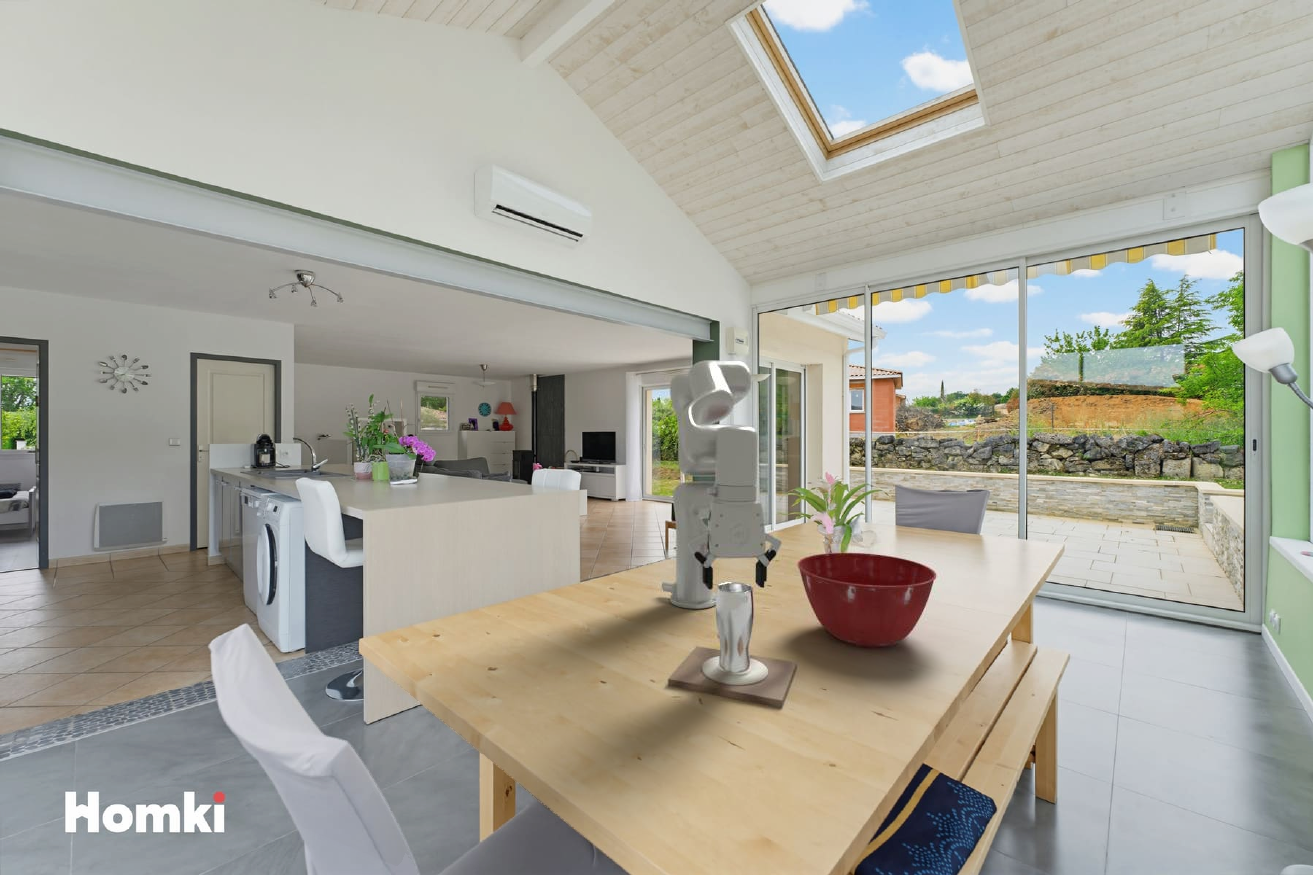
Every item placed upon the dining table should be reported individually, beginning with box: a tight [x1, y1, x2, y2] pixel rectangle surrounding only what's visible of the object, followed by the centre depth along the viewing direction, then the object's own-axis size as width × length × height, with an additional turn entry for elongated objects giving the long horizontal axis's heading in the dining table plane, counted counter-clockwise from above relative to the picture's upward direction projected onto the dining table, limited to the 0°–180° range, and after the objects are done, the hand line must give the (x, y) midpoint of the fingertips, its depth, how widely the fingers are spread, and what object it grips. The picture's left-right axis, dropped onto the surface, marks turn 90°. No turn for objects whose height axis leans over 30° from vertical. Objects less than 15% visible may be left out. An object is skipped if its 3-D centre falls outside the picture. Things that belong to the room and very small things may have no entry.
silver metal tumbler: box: [715, 581, 755, 675], centre depth 101 cm, size 7×7×15 cm
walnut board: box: [667, 645, 798, 709], centre depth 101 cm, size 20×16×2 cm
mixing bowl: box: [796, 552, 937, 648], centre depth 122 cm, size 28×28×16 cm
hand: (734, 586), depth 102 cm, fingers open, 9 cm apart
